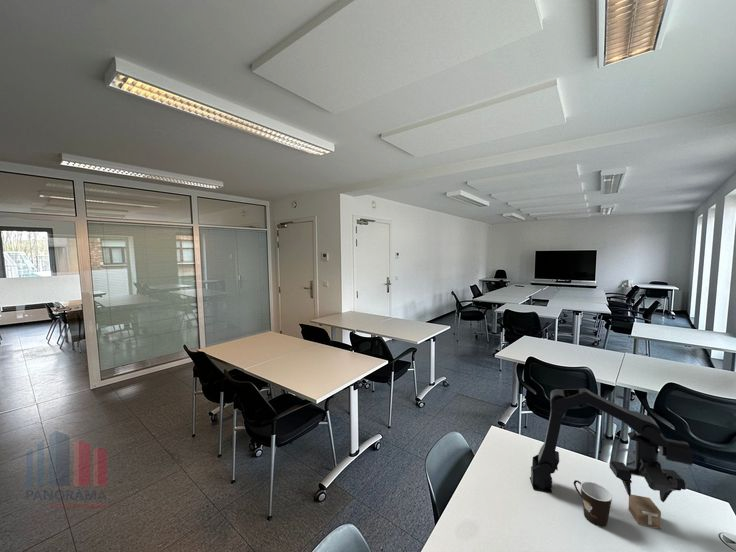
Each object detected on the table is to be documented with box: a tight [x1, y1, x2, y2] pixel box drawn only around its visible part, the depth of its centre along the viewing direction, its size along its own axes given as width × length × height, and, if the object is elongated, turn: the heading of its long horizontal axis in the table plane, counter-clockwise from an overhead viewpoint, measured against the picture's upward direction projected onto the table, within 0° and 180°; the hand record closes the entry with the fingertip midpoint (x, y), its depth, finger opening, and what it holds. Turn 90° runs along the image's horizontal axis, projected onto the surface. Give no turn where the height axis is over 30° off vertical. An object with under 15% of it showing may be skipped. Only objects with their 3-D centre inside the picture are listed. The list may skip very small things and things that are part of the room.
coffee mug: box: [573, 479, 613, 528], centre depth 102 cm, size 12×9×10 cm
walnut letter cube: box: [628, 494, 662, 530], centre depth 100 cm, size 6×6×6 cm
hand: (645, 498), depth 100 cm, fingers open, 9 cm apart
